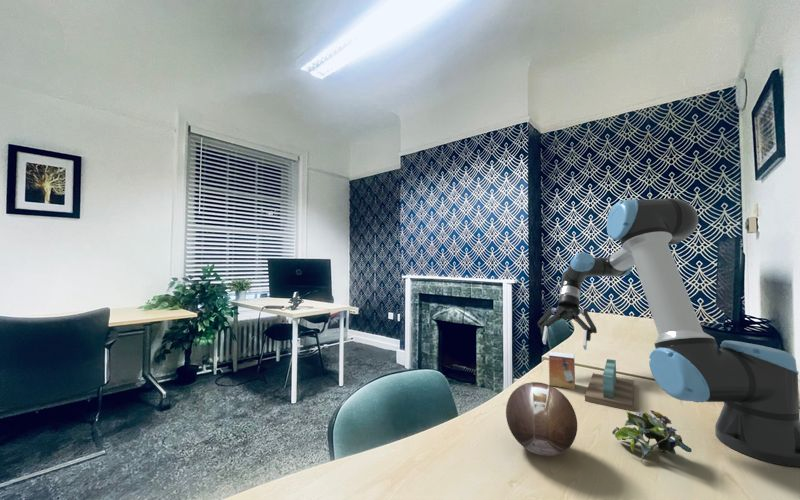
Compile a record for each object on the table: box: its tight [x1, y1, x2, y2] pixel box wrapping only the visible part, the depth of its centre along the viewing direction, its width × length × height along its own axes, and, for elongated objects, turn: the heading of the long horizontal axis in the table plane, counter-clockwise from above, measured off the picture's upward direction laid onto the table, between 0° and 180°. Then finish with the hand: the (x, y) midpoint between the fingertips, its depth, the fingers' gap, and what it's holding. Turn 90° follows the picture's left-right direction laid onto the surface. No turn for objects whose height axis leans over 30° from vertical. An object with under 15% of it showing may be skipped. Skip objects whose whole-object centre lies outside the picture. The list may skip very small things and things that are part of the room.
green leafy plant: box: [611, 410, 692, 459], centre depth 72 cm, size 11×11×12 cm
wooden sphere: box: [505, 381, 578, 457], centre depth 74 cm, size 15×15×15 cm
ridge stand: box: [584, 358, 634, 412], centre depth 106 cm, size 24×12×8 cm, turn 144°
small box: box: [548, 351, 576, 390], centre depth 112 cm, size 8×6×10 cm
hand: (563, 344), depth 119 cm, fingers open, 13 cm apart
